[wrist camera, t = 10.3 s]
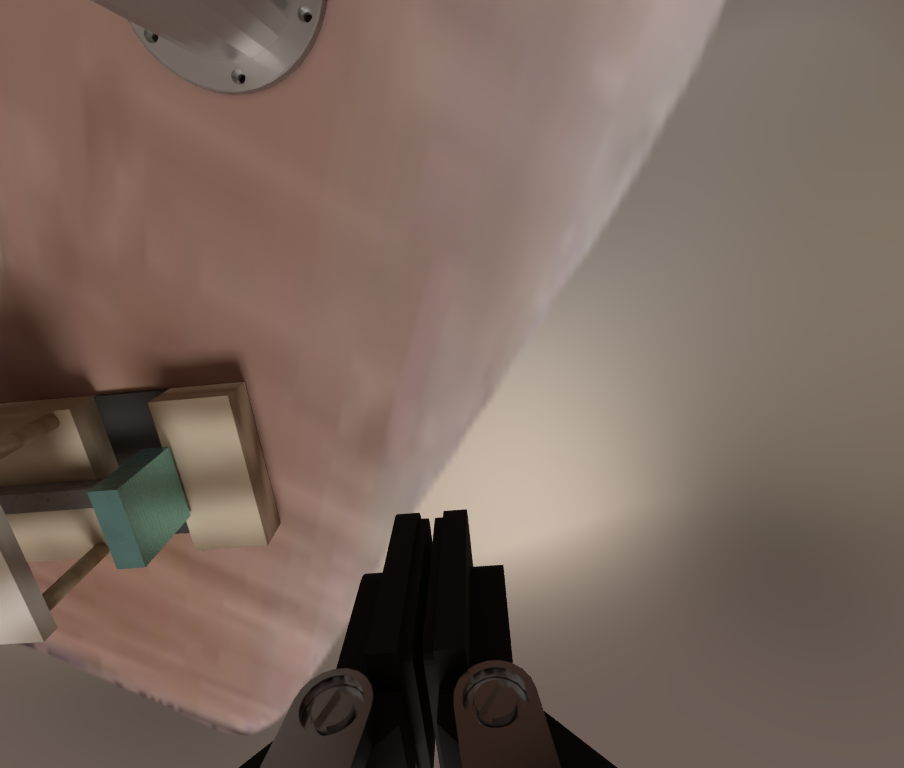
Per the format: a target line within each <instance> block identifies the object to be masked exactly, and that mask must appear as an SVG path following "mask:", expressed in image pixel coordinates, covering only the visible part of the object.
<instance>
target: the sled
mask: <svg viewBox="0 0 904 768" xmlns="http://www.w3.org/2000/svg"><path fill="white" fill-rule="evenodd" d="M0 505H1V507H2V509H3V511H4V513H5V515H6V514H19V513H33V512H46V511H59V510H72V509H86V508H93V509H94V511H95V514H96V516H97V519H98V522H99V524H100V527H101V529H102V532H103V534H104V537H105V539H106V542H107V545H108V547H109V550H110V552H111V555H112V557H113V560H114V562H115V565H116V567H117V569H126V568H141V567H146V566H147V565H148V564H149V563H150V562H151V560H152V559H153V558H154V557H155V556H156V555H157V554H158V552H159V551H160V550H161V549H162V548H163V547H164V546H165V544H166V543H167V542H168V541H169V540H170V539H171V538H172V536H173V535H174V534H175V533H176V532H177V531H178V530H179V528H180V527H181V526H182V525H183V524H184V523H185V522H186V520H187V519H188V518H189V517H190V516H191V515H190V512H189V509H188V505H187V502H186V499H185V496H184V493H183V490H182V487H181V483H180V480H179V477H178V474H177V471H176V468H175V465H174V462H173V458H172V455H171V452H170V449H169V447H161V448H148V449H142V450H141V451H140V452H138V453H137V454H136V455H135V456H133V457H132V458H131V459H129V460H128V461H127V462H125V463H124V464H123V465H122V466H120V467H119V468H118V469H116V470H115V471H114V472H112V473H111V474H110V475H109V476H107V477H106V478H105V479H93V480H80V481H67V482H55V483H42V484H29V485H17V486H4V487H0Z"/></svg>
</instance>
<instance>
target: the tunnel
mask: <svg viewBox="0 0 904 768" xmlns="http://www.w3.org/2000/svg"><path fill="white" fill-rule="evenodd" d="M161 447H169V449H170V452H171V455H172V458H173V462H174V465H175V468H176V471H177V474H178V477H179V480H180V483H181V487H182V490H183V493H184V496H185V499H186V502H187V505H188V509H189V512H190V515H191V516H190V517H189V518H188V519H187V520H186V522H185V523H184V524H183V525H182V526H181V527H180V528H179V530H178V531H177V532H176V533H175V534H179V533H190V534H191V538H192V541H193V544H194V547H195V550H196V551H199V550H213V549H228V548H242V547H257V546H268V544H269V543H270V541H271V539H272V537H273V536H274V534H275V532H276V530H277V529H278V527H279V525H280V520H279V516H278V512H277V508H276V504H275V500H274V496H273V492H272V488H271V484H270V480H269V476H268V472H267V469H266V465H265V461H264V457H263V453H262V449H261V445H260V441H259V437H258V433H257V429H256V425H255V421H254V417H253V413H252V409H251V405H250V401H249V397H248V393H247V389H246V385H245V382H235V383H224V384H213V385H202V386H191V387H179V388H168V389H157V390H146V391H135V392H123V393H112V394H101V395H90V396H79V397H67V398H56V399H45V400H34V401H23V402H12V403H0V487H4V486H17V485H29V484H42V483H55V482H67V481H80V480H93V479H105V478H106V477H107V476H109V475H110V474H111V473H112V472H114V471H115V470H116V469H118V468H119V467H120V466H122V465H123V464H124V463H125V462H127V461H128V460H129V459H131V458H132V457H133V456H135V455H136V454H137V453H138V452H140V451H141V450H142V449H148V448H161ZM104 557H112V555H111V552H110V550H109V547H108V545H107V542H106V539H105V537H104V534H103V532H102V529H101V527H100V524H99V522H98V519H97V516H96V514H95V511H94V509H93V508H86V509H72V510H59V511H46V512H33V513H19V514H6V515H5V513H4V511H3V509H2V507H1V505H0V644H16V643H33V642H44V641H45V640H46V639H47V638H48V637H49V636H50V635H51V634H52V633H53V632H54V631H55V630H56V629H57V626H56V624H55V622H54V620H53V617H52V615H51V613H50V610H51V609H52V608H53V607H54V606H55V605H57V604H58V603H59V602H60V601H61V600H62V599H63V598H64V597H65V596H66V595H67V594H68V593H69V592H70V591H71V590H72V589H73V588H74V587H75V586H76V585H77V584H78V583H79V582H80V581H81V580H82V579H83V578H84V577H85V576H86V575H87V574H88V573H89V572H90V571H91V570H92V569H93V568H94V567H95V566H96V565H97V564H98V563H99V562H100V561H101V560H102V559H103V558H104ZM69 559H80V560H79V561H77V562H76V563H75V564H74V565H73V566H72V567H71V568H70V569H69V570H68V571H67V572H66V573H65V574H63V575H62V576H61V577H60V578H59V579H58V580H57V581H56V582H55V583H54V584H53V585H52V586H51V587H49V588H48V589H47V590H46V591H45V592H44V593H43V594H41V591H40V589H39V587H38V585H37V583H36V581H35V578H34V576H33V574H32V572H31V570H30V568H29V565H28V563H27V562H40V561H54V560H69Z"/></svg>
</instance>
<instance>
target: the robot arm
mask: <svg viewBox="0 0 904 768" xmlns="http://www.w3.org/2000/svg"><path fill="white" fill-rule="evenodd" d="M91 1H93V2H95V3H97V4H99V5H101V6H103V7H105V8H107V9H108V10H110V11H112V12H114V13H116V14H118V15H120V16H122V17H124V18H126V19H127V20H128V22H129V23H130V25H131V27H132V29H133V31H134V32H135V33H136V35H137V36H138V38H139V39H140V40H141V42H142V43H143V44H144V46H145V47H146V49H147V50H148V51H149V52H150V53H151V54H152V55H153V56H154V57H155V58H156V59H157V60H158V61H159V62H160V63H161V64H162V65H164V66H165V67H166V68H168V69H169V70H170V71H172V72H173V73H175V74H176V75H177V76H179V77H180V78H182V79H184V80H186V81H188V82H190V83H192V84H195V85H197V86H199V87H202V88H205V89H208V90H210V91H213V92H218V93H225V94H231V95H238V94H252V93H255V92H259V91H262V90H265V89H269V88H271V87H272V86H274V85H276V84H278V83H279V82H281V81H283V80H285V79H286V78H287V77H288V76H289V75H290V74H292V73H293V72H294V71H295V70H296V69H297V68H298V67H299V66H300V65H301V63H302V62H303V61H304V59H305V58H306V56H307V55H308V54H309V52H310V51H311V49H312V47H313V45H314V43H315V41H316V38H317V36H318V34H319V32H320V29H321V25H322V21H323V17H324V13H325V9H326V0H91ZM307 15H312V19H311V21H310V22H308V23H307V22H306V16H307ZM157 35H158V40H157V41H156V37H157ZM242 76H245V82H244V83H243V84H242V82H241V77H242ZM435 738H436V744H437V751H438V757H439V763H440V768H617V767H616V766H614V765H613V764H612V763H610V762H609V761H608V760H607V759H605V758H604V757H603V756H601V755H600V754H599V753H597V752H596V751H595V750H594V749H592V748H591V747H590V746H589V745H587V744H586V743H584V742H583V741H582V740H581V739H579V738H578V737H577V736H576V735H574V734H573V733H572V732H570V731H569V730H568V729H567V728H565V727H564V726H563V725H562V724H560V723H559V722H558V721H556V720H555V719H554V718H552V717H551V716H550V715H548V714H547V713H546V712H545V711H543V708H542V704H541V701H540V698H539V695H538V692H537V688H536V686H535V684H534V682H533V680H532V678H531V677H530V676H529V675H528V674H527V673H526V672H525V671H524V670H523V669H522V668H520V667H518V666H517V665H515V664H513V660H512V650H511V639H510V629H509V619H508V609H507V598H506V588H505V578H504V568H503V565H495V566H479V567H473V561H472V553H471V543H470V533H469V524H468V515H467V510H453V511H444V513H443V518H435V524H434V533H433V543H432V536H431V529H430V522H429V519H421V516H420V513H411V514H397V515H396V517H395V521H394V525H393V530H392V534H391V538H390V543H389V547H388V552H387V556H386V560H385V565H384V569H383V573H371V574H364V575H363V577H362V579H361V582H360V586H359V589H358V593H357V596H356V600H355V604H354V607H353V611H352V614H351V618H350V622H349V625H348V629H347V632H346V636H345V640H344V643H343V647H342V651H341V654H340V658H339V661H338V665H337V668H336V669H334V670H330V671H327V672H324V673H322V674H320V675H318V676H317V677H315V678H313V679H312V680H310V681H309V682H308V683H307V684H306V685H305V686H304V687H303V688H302V689H301V690H300V692H299V693H298V695H297V696H296V698H295V699H294V701H293V703H292V705H291V707H290V709H289V711H288V713H287V715H286V717H285V719H284V721H283V723H282V725H281V727H280V729H279V731H278V733H277V734H276V736H275V738H274V740H273V741H272V742H271V743H270V744H268V745H267V746H266V747H265V748H264V749H262V750H261V751H260V752H258V753H257V754H256V755H254V756H253V757H252V758H251V759H249V760H248V761H247V762H246V763H244V764H243V765H242V766H240V767H239V768H433V767H434V752H435V751H434V750H435Z"/></svg>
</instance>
